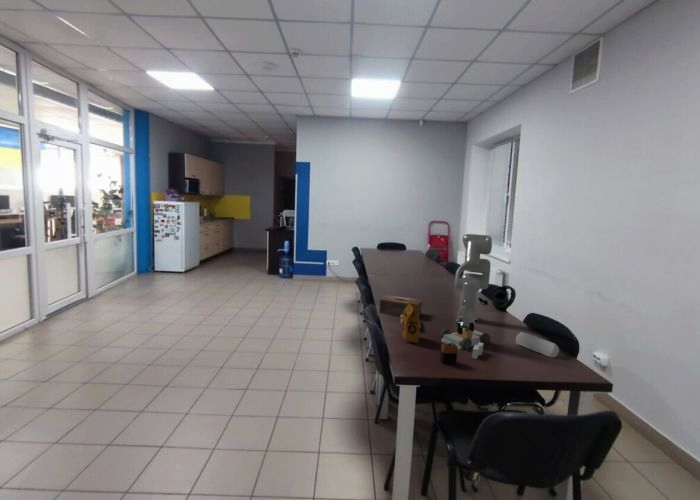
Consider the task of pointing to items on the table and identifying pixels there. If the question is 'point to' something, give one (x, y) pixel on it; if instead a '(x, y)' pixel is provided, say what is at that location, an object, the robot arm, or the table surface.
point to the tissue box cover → (397, 305)
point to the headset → (501, 297)
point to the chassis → (465, 342)
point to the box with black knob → (466, 334)
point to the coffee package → (410, 323)
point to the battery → (448, 353)
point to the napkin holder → (477, 350)
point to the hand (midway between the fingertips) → (465, 332)
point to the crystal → (537, 344)
